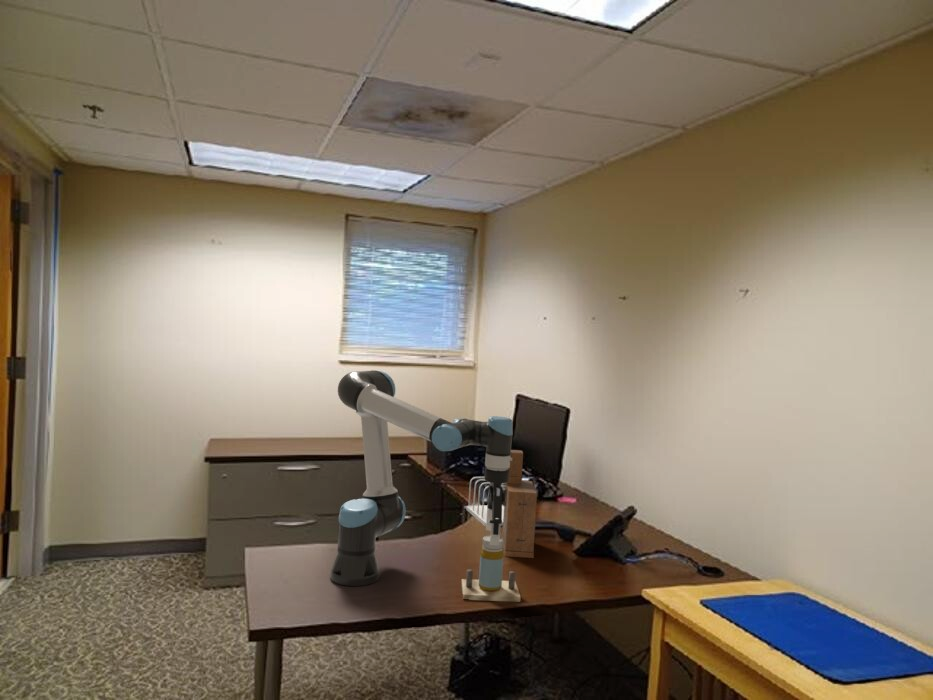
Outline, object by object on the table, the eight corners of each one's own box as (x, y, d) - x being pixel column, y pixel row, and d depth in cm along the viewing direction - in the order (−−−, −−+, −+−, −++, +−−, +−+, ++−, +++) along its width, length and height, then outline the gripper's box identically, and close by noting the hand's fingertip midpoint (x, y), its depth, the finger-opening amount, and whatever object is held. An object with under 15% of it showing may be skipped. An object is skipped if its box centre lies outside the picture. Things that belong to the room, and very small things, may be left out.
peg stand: (463, 599, 187) (464, 577, 187) (461, 583, 199) (462, 563, 199) (520, 601, 188) (521, 580, 188) (515, 585, 200) (516, 565, 200)
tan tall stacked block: (491, 538, 246) (497, 448, 245) (528, 540, 246) (533, 450, 245) (493, 555, 227) (499, 458, 226) (533, 557, 227) (539, 460, 226)
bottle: (500, 583, 197) (503, 535, 197) (502, 592, 190) (505, 543, 190) (477, 582, 197) (480, 534, 196) (479, 591, 190) (482, 541, 189)
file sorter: (466, 510, 284) (468, 475, 284) (501, 509, 290) (503, 475, 290) (485, 527, 261) (487, 489, 260) (524, 525, 266) (526, 488, 266)
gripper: (514, 478, 180) (509, 552, 181) (505, 460, 205) (500, 525, 206) (488, 476, 180) (483, 550, 181) (482, 459, 205) (477, 524, 206)
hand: (492, 537), depth 193 cm, fingers open, 13 cm apart
